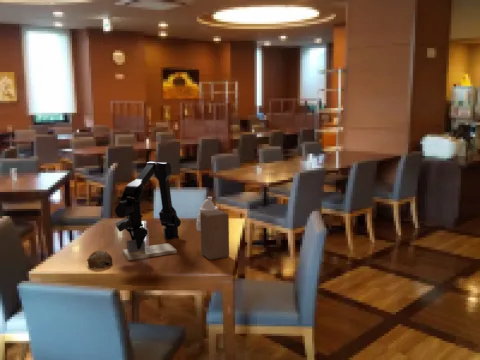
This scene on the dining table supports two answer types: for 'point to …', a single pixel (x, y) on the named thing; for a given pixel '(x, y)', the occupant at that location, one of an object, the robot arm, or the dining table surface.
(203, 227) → the wooden block
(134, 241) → the block
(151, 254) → the board
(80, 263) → the dining table surface
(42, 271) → the dining table surface
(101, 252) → the brown dome
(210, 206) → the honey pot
